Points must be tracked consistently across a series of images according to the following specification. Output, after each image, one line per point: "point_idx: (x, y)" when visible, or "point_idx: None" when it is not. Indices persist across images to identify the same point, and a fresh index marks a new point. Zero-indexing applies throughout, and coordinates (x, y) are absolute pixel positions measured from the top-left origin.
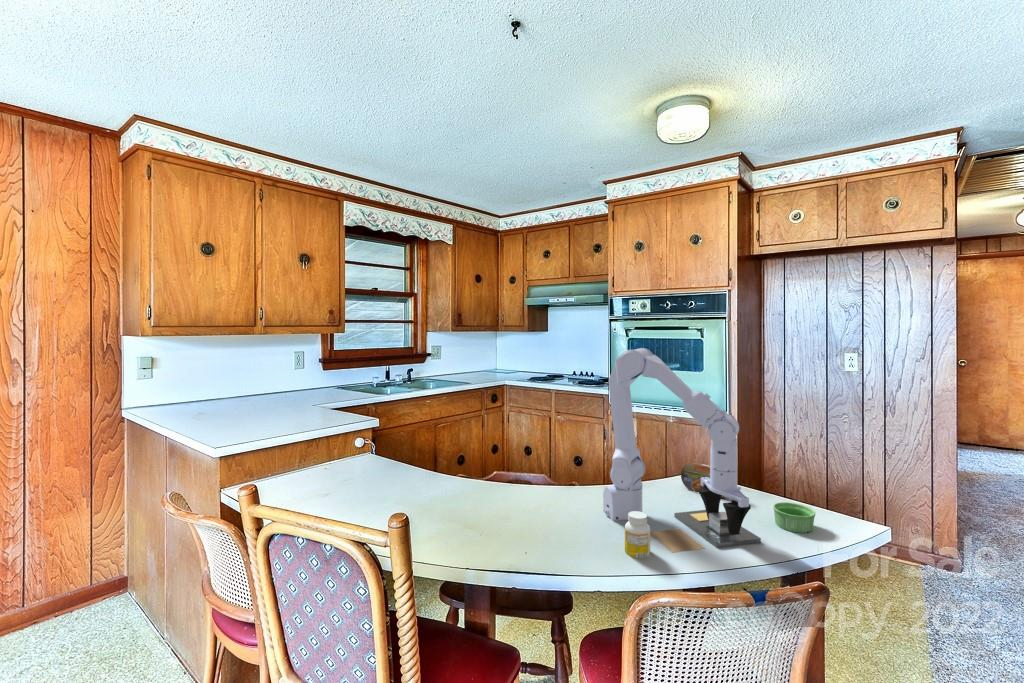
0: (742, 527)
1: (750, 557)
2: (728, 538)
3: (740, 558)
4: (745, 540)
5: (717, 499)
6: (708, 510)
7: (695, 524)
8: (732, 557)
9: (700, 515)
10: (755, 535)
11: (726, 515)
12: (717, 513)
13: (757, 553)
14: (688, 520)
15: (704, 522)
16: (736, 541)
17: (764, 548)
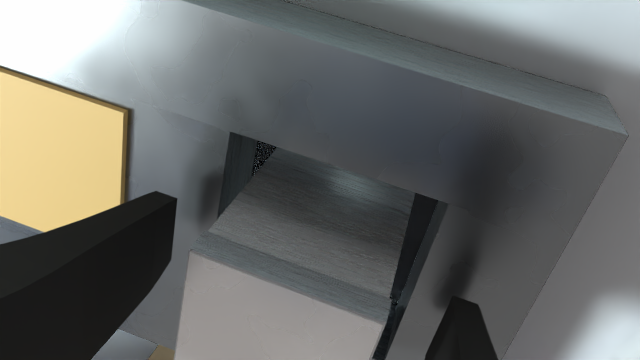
0: (354, 62)
1: (618, 277)
2: None
3: (575, 335)
4: (544, 277)
5: (30, 322)
6: (113, 328)
7: (156, 316)
8: (531, 357)
9: (34, 172)
10: (551, 119)
11: (278, 323)
12: (203, 340)
13: (623, 182)
14: None
15: None
16: (508, 344)
17: (619, 45)
